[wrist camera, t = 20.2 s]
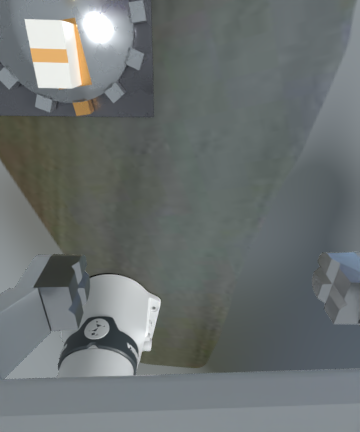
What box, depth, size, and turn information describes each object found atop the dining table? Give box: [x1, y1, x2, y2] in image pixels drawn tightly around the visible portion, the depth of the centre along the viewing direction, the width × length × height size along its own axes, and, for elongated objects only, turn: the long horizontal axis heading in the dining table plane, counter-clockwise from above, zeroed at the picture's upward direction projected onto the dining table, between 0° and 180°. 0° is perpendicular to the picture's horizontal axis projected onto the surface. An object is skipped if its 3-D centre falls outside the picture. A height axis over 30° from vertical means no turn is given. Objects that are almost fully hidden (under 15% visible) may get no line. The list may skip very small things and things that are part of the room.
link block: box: [24, 19, 82, 89], centre depth 30 cm, size 6×4×4 cm, turn 179°
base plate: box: [0, 0, 154, 117], centre depth 33 cm, size 20×20×1 cm
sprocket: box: [0, 0, 147, 116], centre depth 29 cm, size 19×19×8 cm
